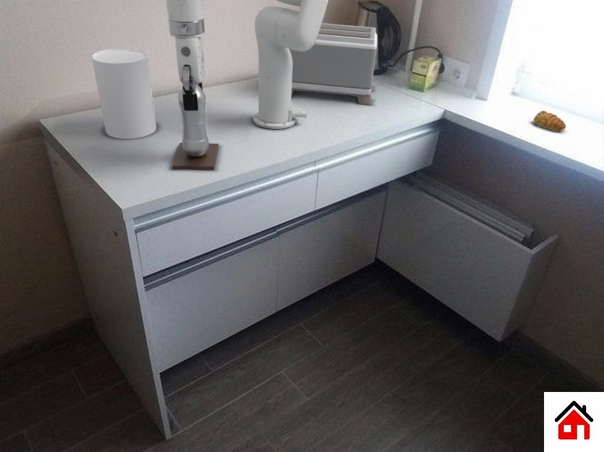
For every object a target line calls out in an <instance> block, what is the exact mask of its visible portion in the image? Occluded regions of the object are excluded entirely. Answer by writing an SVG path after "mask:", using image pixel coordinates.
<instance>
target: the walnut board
mask: <svg viewBox="0 0 604 452" xmlns="http://www.w3.org/2000/svg"><path fill="white" fill-rule="evenodd" d="M219 148H220V147H219V143H213V142H212V143H210V142H209V149H208V151H207V153H206V154H204V155H202V156H197V157H193V156H189V155H187V154H186V153H185V152H184V150H183V147H182V142H180V143H179V145H178V147H177V150H176V154H175V157H174V159H173V162H172V165H171V167H172V170H188V171H189V170H191V171H192V170H193V171H215V167H216V162H217V158H218V153H219Z"/></svg>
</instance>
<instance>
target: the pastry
mask: <svg viewBox="0 0 604 452" xmlns="http://www.w3.org/2000/svg"><path fill="white" fill-rule="evenodd" d="M533 122H534V124H535V125H539V127H541V128H544V129H546V130H549V131H555V132H561V131H564V130H565V129H566V128H567V125H566V123H565V121H564V120H563V119H562V118H560V117H558V115H557V114H553V113H552V112H547V111H546V110H541V111H539V112H538V113H536V115H535V116H534V118H533Z"/></svg>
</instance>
